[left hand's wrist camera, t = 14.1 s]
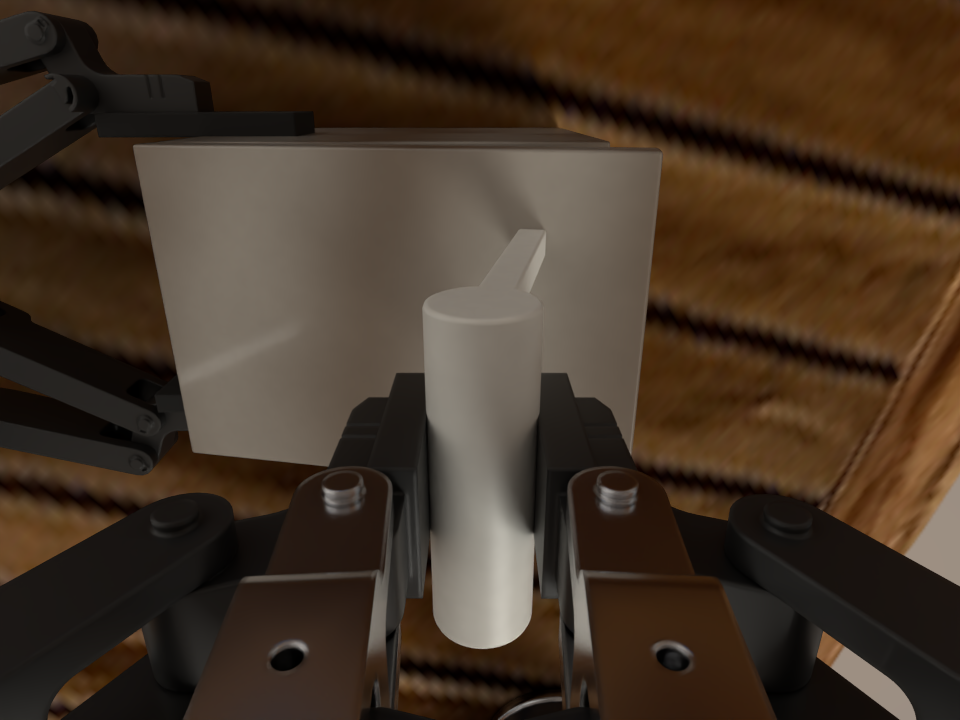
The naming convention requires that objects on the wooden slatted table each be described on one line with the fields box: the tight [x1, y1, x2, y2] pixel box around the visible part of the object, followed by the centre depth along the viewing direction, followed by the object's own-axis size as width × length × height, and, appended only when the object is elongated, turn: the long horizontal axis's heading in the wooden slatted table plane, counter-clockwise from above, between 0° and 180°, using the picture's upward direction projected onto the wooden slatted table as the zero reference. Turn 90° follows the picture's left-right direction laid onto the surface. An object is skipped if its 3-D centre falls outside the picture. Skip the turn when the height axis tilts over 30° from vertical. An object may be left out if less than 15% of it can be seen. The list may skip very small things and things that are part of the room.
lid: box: [133, 142, 663, 649], centre depth 14 cm, size 14×10×9 cm
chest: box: [161, 128, 610, 147], centre depth 25 cm, size 13×10×11 cm
